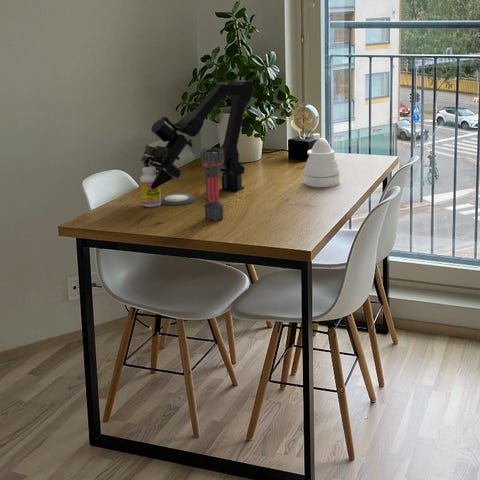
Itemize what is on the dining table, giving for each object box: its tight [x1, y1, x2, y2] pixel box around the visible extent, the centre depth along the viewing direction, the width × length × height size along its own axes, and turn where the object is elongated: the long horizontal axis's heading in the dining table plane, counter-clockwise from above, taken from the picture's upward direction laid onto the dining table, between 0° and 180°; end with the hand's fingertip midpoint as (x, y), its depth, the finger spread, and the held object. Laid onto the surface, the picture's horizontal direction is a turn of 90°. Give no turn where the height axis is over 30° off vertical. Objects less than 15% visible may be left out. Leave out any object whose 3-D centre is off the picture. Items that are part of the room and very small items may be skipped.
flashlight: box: [200, 146, 224, 222], centre depth 281 cm, size 8×8×23 cm
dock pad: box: [160, 193, 196, 207], centre depth 309 cm, size 13×13×1 cm
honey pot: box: [303, 133, 340, 188], centre depth 324 cm, size 13×13×18 cm
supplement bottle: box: [139, 166, 162, 208], centre depth 302 cm, size 7×7×13 cm
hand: (146, 186), depth 301 cm, fingers closed on supplement bottle, 7 cm apart
